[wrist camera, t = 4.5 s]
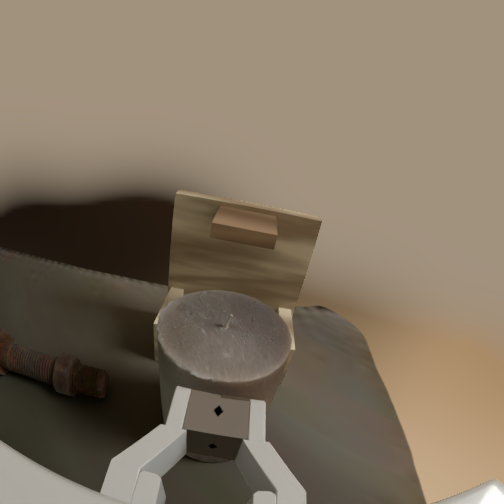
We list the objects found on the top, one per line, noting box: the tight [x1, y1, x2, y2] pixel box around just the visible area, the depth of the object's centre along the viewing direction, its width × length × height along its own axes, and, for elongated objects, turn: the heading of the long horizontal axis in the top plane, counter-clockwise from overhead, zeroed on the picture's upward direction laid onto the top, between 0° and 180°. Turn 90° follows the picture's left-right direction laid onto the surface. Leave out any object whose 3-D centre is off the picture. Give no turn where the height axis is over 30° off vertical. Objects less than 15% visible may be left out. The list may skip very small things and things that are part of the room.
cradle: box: [154, 190, 322, 384], centre depth 32 cm, size 9×16×18 cm, turn 87°
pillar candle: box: [156, 290, 292, 463], centre depth 23 cm, size 10×10×15 cm
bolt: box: [0, 329, 109, 399], centre depth 24 cm, size 6×5×15 cm
